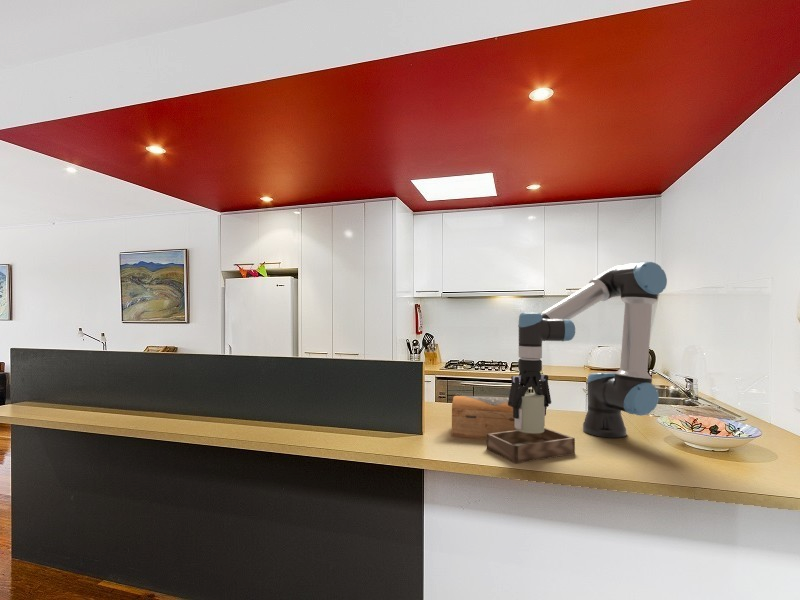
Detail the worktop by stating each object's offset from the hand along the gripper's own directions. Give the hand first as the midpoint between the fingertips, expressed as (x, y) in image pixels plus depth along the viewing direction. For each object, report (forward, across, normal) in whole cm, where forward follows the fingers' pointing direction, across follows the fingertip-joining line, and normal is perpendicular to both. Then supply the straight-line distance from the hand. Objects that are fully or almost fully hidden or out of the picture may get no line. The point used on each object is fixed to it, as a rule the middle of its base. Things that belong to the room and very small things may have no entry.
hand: (529, 426), depth 142 cm
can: (+1, 0, 0) cm, 1 cm away
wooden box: (+9, -1, -22) cm, 24 cm away
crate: (+8, 0, 0) cm, 8 cm away
